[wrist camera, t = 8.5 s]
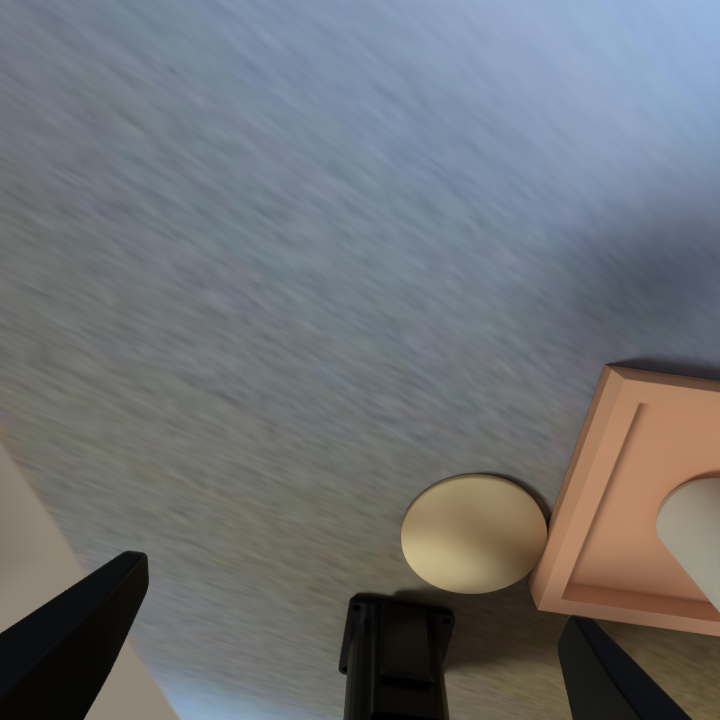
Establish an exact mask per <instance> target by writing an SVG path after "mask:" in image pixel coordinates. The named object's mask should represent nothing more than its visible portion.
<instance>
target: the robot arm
mask: <svg viewBox="0 0 720 720" xmlns="http://www.w3.org/2000/svg"><path fill="white" fill-rule="evenodd" d="M148 585H149V573H148V558H147V555H146V554H145V553H143V552H137V551H125V552H123V553H121V554H120V555H118V556H117V557H115V558H114V559H112V560H111V561H109V562H108V563H106V564H105V565H103V566H102V567H100V568H99V569H97V570H96V571H94V572H93V573H91V574H90V575H88V576H87V577H85V578H84V579H82V580H81V581H79V582H78V583H76V584H75V585H73V586H72V587H70V588H68V589H67V590H65V591H64V592H63V593H61V594H60V595H58V596H57V597H55V598H53V599H52V600H50V601H49V602H47V603H46V604H44V605H43V606H42V607H40V608H38V609H37V610H35V611H34V612H32V613H31V614H29V615H28V616H26V617H25V618H23V619H22V620H20V621H18V622H17V623H15V624H14V625H12V626H11V627H9V628H8V629H6V630H5V631H3V632H2V633H0V720H84V718H85V716H86V714H87V713H88V711H89V709H90V708H91V705H92V704H93V702H94V701H95V699H96V697H97V695H98V693H99V692H100V690H101V688H102V686H103V684H104V683H105V681H106V679H107V677H108V675H109V673H110V672H111V669H112V667H113V665H114V663H115V661H116V659H117V657H118V654H119V652H120V650H121V648H122V646H123V643H124V641H125V639H126V637H127V635H128V632H129V630H130V628H131V626H132V624H133V621H134V619H135V617H136V615H137V613H138V610H139V608H140V606H141V604H142V602H143V599H144V597H145V595H146V592H147V589H148ZM454 624H455V618H454V613H453V612H452V611H451V610H448V609H442V608H435V607H428V606H421V605H414V604H407V603H400V602H394V601H387V600H380V599H373V598H366V597H359V596H355V597H352V598H351V599H350V601H349V606H348V612H347V618H346V624H345V630H344V636H343V642H342V648H341V655H340V661H339V671H340V672H341V673H342V674H345V675H347V681H346V694H345V707H344V719H343V720H450V718H449V710H448V702H447V695H446V687H445V679H444V671H443V662H444V658H445V655H446V651H447V648H448V644H449V641H450V637H451V634H452V630H453V627H454ZM558 655H559V659H560V664H561V668H562V673H563V677H564V682H565V686H566V690H567V695H568V699H569V704H570V708H571V713H572V717H573V720H692V719H691V718H690V717H689V716H688V715H687V714H686V713H685V712H684V711H683V710H682V708H681V707H680V706H679V705H678V704H677V703H676V702H675V701H674V700H673V699H672V698H671V697H670V696H669V695H668V694H667V693H666V692H665V691H664V690H663V689H662V688H661V687H660V686H659V685H658V684H657V683H656V682H655V681H654V680H653V679H652V678H651V677H650V676H649V675H648V674H647V673H646V672H645V671H644V670H643V669H642V668H641V667H640V666H639V665H638V664H637V663H636V662H635V661H634V660H633V659H632V658H631V657H630V656H629V655H628V654H627V653H626V652H625V651H624V650H623V649H622V648H621V647H620V646H619V645H618V644H617V643H616V642H615V641H614V640H613V639H612V638H611V637H610V636H609V635H608V634H607V633H606V632H605V631H604V630H603V629H602V628H601V627H600V626H599V625H598V624H597V623H596V622H595V621H594V620H593V619H592V618H590V617H587V616H581V615H570V616H569V617H568V619H567V621H566V623H565V626H564V628H563V631H562V633H561V635H560V638H559V641H558Z"/></svg>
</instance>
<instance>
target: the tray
mask: <svg viewBox="0 0 720 720" xmlns="http://www.w3.org/2000/svg"><path fill="white" fill-rule="evenodd" d="M704 478H720V381H718V380H711V379H703V378H696V377H689V376H682V375H675V374H668V373H661V372H654V371H647V370H640V369H633V368H626V367H619V366H612V365H605V366H604V369H603V372H602V375H601V377H600V380H599V383H598V386H597V389H596V391H595V394H594V397H593V400H592V403H591V405H590V408H589V411H588V414H587V417H586V419H585V422H584V425H583V428H582V431H581V434H580V436H579V439H578V442H577V445H576V448H575V450H574V453H573V456H572V459H571V462H570V464H569V467H568V470H567V473H566V476H565V478H564V481H563V484H562V487H561V490H560V492H559V495H558V498H557V501H556V504H555V507H554V509H553V512H552V515H551V518H550V521H549V523H548V526H547V542H546V546H545V550H544V552H543V554H542V557H541V558H540V560H539V562H538V563H537V565H536V566H535V567H534V568H533V569H532V571H531V574H530V577H529V580H528V582H527V583H528V586H529V589H530V591H531V594H532V597H533V599H534V602H535V605H536V607H537V610H541V611H548V612H555V613H561V614H568V615H581V616H587V617H590V618H596V619H603V620H610V621H617V622H624V623H631V624H638V625H644V626H651V627H658V628H665V629H672V630H679V631H686V632H693V633H700V634H707V635H714V636H720V613H719V611H718V610H717V609H716V608H715V606H714V605H713V604H712V603H711V602H710V600H709V599H708V598H707V597H706V595H705V594H704V593H703V592H702V591H701V589H700V588H699V587H698V586H697V584H696V583H695V582H694V581H693V580H692V578H691V577H690V576H689V575H688V574H687V572H686V571H685V570H684V569H683V567H682V566H681V565H680V564H679V563H678V561H677V560H676V559H675V558H674V556H673V555H672V554H671V553H670V552H669V550H668V549H667V548H666V547H665V545H664V544H663V543H662V541H661V540H660V538H659V537H658V535H657V530H656V519H657V512H658V509H659V506H660V504H661V502H662V501H663V500H664V498H665V497H666V496H667V495H668V494H669V493H670V492H671V491H673V490H674V489H675V488H676V487H678V486H680V485H682V484H684V483H686V482H689V481H693V480H696V479H704Z"/></svg>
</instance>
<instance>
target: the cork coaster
mask: <svg viewBox="0 0 720 720" xmlns="http://www.w3.org/2000/svg"><path fill="white" fill-rule="evenodd" d="M401 541H402V548H403V553H404V555H405V558H406V560H407V561H408V563H409V565H410V566H411V568H412V569H413V570H414V571H415V572H416V573H417V574H418V575H419V576H420V577H421V578H423V579H424V580H425V581H427V582H428V583H430V584H432V585H434V586H436V587H439V588H441V589H444V590H447V591H451V592H456V593H464V594H479V593H487V592H492V591H496V590H499V589H502V588H505V587H507V586H510V585H512V584H514V583H515V582H517V581H519V580H520V579H522V578H523V577H524V576H526V575H527V574H528V573H529V572H530V571H531V570H532V569H533V568H534V567H535V566H536V565H537V563H538V562H539V560H540V558H541V557H542V554H543V552H544V550H545V546H546V542H547V527H546V523H545V519H544V517H543V515H542V512H541V510H540V508H539V506H538V505H537V503H536V502H535V500H534V499H533V498H532V497H531V496H530V494H529V493H527V492H526V491H525V490H524V489H523V488H521V487H520V486H518V485H516V484H515V483H513V482H511V481H508V480H506V479H503V478H500V477H497V476H492V475H485V474H466V475H458V476H454V477H450V478H447V479H444V480H442V481H439V482H437V483H435V484H433V485H431V486H430V487H428V488H427V489H425V490H424V491H423V492H422V493H420V494H419V495H418V496H417V497H416V498H415V499H414V501H413V502H412V503H411V504H410V506H409V507H408V509H407V511H406V513H405V515H404V518H403V522H402V527H401Z"/></svg>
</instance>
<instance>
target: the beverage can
mask: <svg viewBox="0 0 720 720" xmlns="http://www.w3.org/2000/svg"><path fill="white" fill-rule="evenodd" d="M656 530H657V535H658V537H659V538H660V540H661V541H662V543H663V544H664V545H665V547H666V548H667V549H668V550H669V552H670V553H671V554H672V555H673V556H674V558H675V559H676V560H677V561H678V563H679V564H680V565H681V566H682V567H683V569H684V570H685V571H686V572H687V574H688V575H689V576H690V577H691V578H692V580H693V581H694V582H695V583H696V584H697V586H698V587H699V588H700V589H701V591H702V592H703V593H704V594H705V595H706V597H707V598H708V599H709V600H710V602H711V603H712V604H713V605H714V606H715V608H716V609H717V610H718V611H719V613H720V478H704V479H696V480H693V481H689V482H686V483H684V484H682V485H680V486H678V487H676V488H675V489H674V490H673V491H671V492H670V493H669V494H668V495H667V496H666V497H665V498H664V500H663V501H662V502H661V504H660V506H659V509H658V512H657V519H656Z"/></svg>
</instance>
